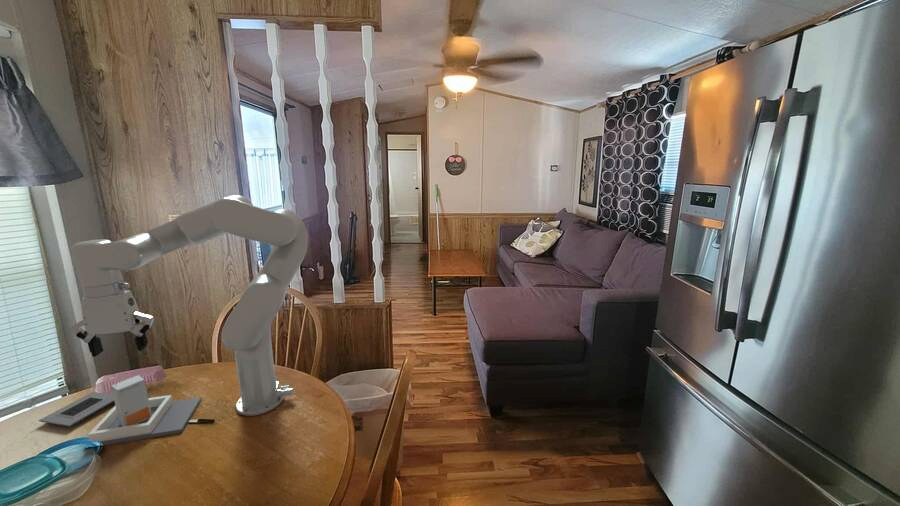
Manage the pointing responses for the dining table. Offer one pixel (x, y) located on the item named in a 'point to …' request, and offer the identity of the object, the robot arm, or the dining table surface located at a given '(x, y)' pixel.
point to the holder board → (147, 421)
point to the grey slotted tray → (79, 409)
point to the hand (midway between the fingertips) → (120, 351)
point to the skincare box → (131, 401)
